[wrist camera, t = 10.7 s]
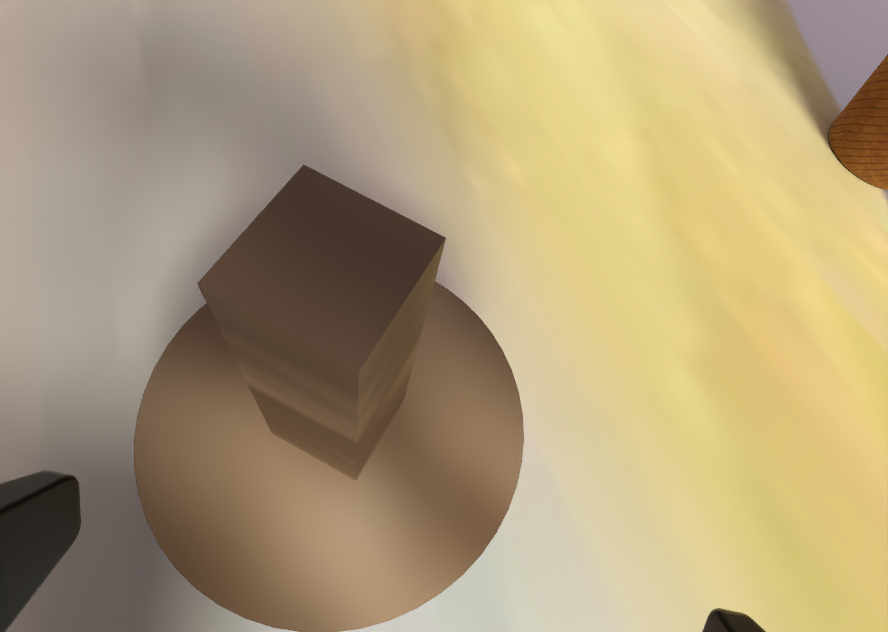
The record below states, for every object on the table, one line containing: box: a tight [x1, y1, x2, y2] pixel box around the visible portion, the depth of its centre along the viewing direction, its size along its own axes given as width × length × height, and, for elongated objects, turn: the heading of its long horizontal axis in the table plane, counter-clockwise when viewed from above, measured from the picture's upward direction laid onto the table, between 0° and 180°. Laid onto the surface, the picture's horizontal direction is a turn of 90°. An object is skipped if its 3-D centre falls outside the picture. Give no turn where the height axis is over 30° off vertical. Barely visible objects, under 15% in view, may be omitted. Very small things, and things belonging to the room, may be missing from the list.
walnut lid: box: [134, 165, 524, 632], centre depth 14 cm, size 12×12×10 cm
